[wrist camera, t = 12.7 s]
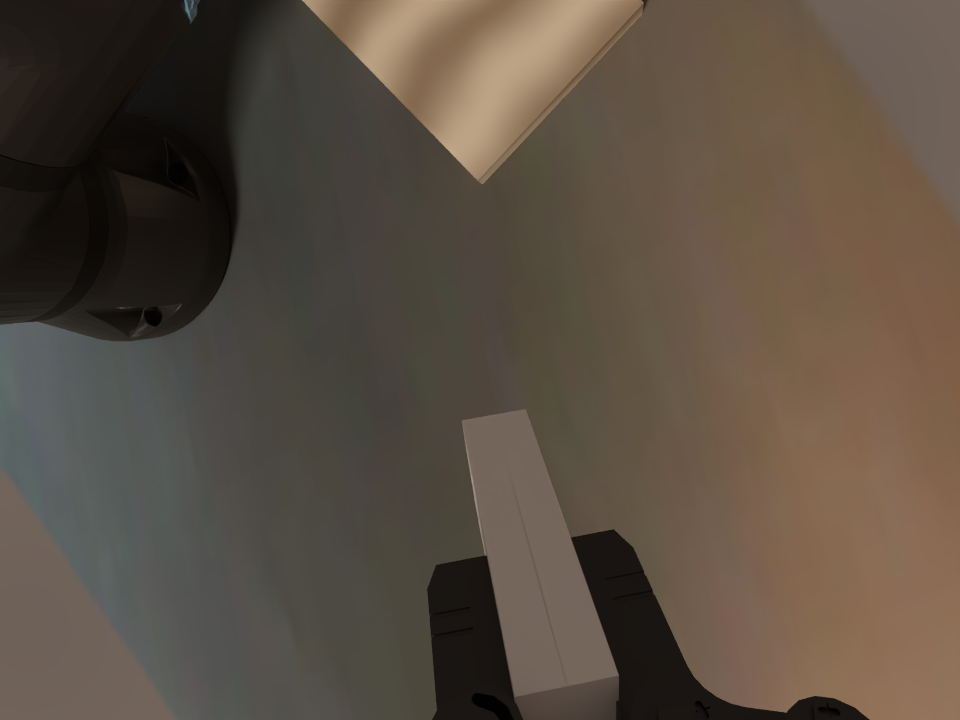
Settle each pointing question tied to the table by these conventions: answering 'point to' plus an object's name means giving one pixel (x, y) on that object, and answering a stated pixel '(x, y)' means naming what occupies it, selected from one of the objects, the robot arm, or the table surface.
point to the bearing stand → (479, 61)
